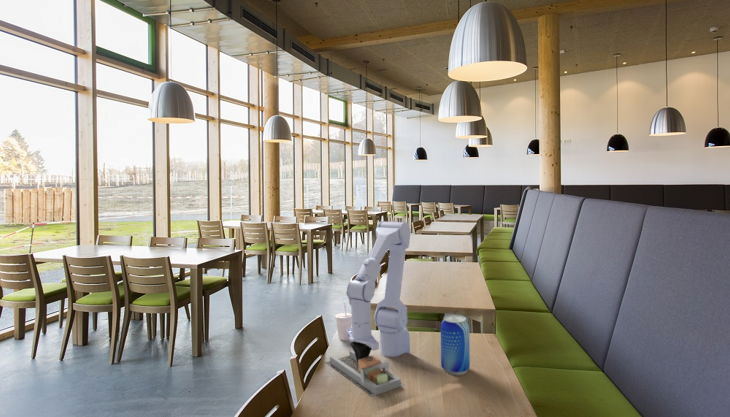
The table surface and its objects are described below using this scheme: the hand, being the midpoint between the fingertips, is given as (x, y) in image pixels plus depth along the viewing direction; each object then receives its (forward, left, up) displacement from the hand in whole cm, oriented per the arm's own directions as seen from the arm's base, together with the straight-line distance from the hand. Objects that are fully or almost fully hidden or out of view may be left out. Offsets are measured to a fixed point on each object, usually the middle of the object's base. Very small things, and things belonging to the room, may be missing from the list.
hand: (362, 366), depth 128 cm
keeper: (0, +5, -2) cm, 5 cm away
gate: (0, +7, -3) cm, 7 cm away
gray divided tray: (0, 0, -3) cm, 3 cm away
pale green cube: (0, +10, -2) cm, 10 cm away
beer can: (-25, +13, -4) cm, 28 cm away
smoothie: (-10, -27, -4) cm, 29 cm away
